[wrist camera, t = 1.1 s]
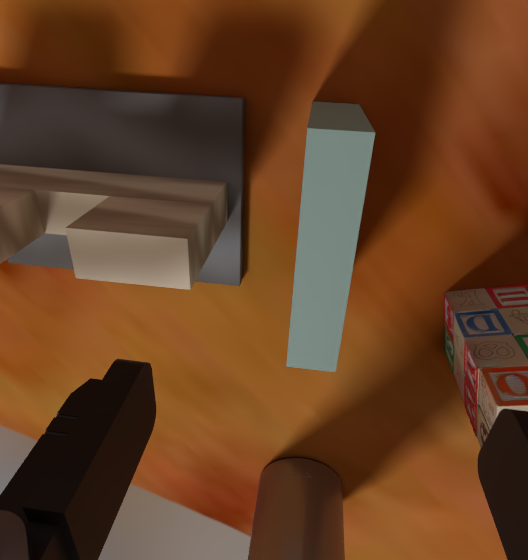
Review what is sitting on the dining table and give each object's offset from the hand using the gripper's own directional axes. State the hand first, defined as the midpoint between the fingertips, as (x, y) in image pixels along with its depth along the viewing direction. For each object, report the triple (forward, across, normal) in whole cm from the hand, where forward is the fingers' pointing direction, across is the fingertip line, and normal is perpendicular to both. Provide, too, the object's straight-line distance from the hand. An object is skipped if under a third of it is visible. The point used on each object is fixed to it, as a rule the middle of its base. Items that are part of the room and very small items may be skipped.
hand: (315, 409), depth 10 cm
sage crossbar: (+22, -1, +3) cm, 23 cm away
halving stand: (+23, +15, +4) cm, 28 cm away
